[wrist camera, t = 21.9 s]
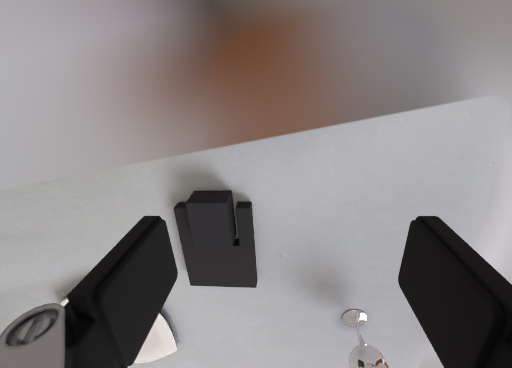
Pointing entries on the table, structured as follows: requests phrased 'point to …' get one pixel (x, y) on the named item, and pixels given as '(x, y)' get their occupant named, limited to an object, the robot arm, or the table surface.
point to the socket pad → (220, 253)
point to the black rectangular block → (212, 219)
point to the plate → (154, 341)
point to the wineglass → (363, 345)
